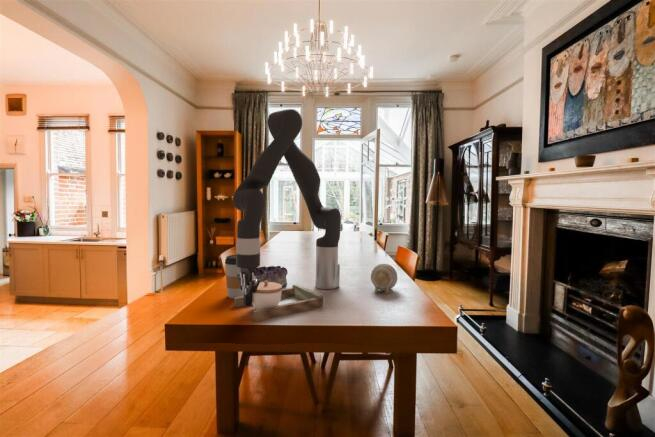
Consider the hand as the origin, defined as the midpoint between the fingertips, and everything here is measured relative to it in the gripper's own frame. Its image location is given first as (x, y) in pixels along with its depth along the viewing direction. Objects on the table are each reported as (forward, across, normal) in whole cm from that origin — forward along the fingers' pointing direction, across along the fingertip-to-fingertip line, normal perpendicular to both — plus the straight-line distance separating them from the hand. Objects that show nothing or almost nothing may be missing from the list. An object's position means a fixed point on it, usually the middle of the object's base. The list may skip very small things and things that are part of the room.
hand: (247, 305), depth 106 cm
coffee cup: (+3, +19, -4) cm, 20 cm away
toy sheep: (+2, -7, -56) cm, 56 cm away
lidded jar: (+2, 0, -6) cm, 7 cm away
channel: (+2, 0, -12) cm, 12 cm away
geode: (+3, +27, -18) cm, 33 cm away
